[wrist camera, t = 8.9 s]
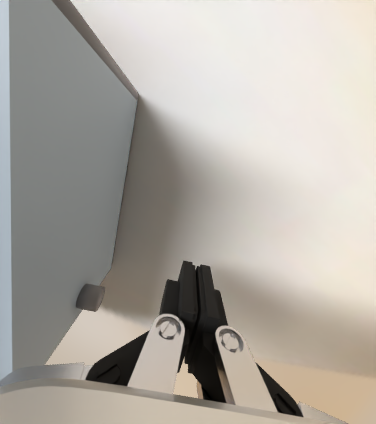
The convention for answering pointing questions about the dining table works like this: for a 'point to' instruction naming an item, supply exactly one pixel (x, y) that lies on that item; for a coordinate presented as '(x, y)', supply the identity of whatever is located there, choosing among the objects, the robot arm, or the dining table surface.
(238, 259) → the dining table surface
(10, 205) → the door
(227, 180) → the dining table surface
